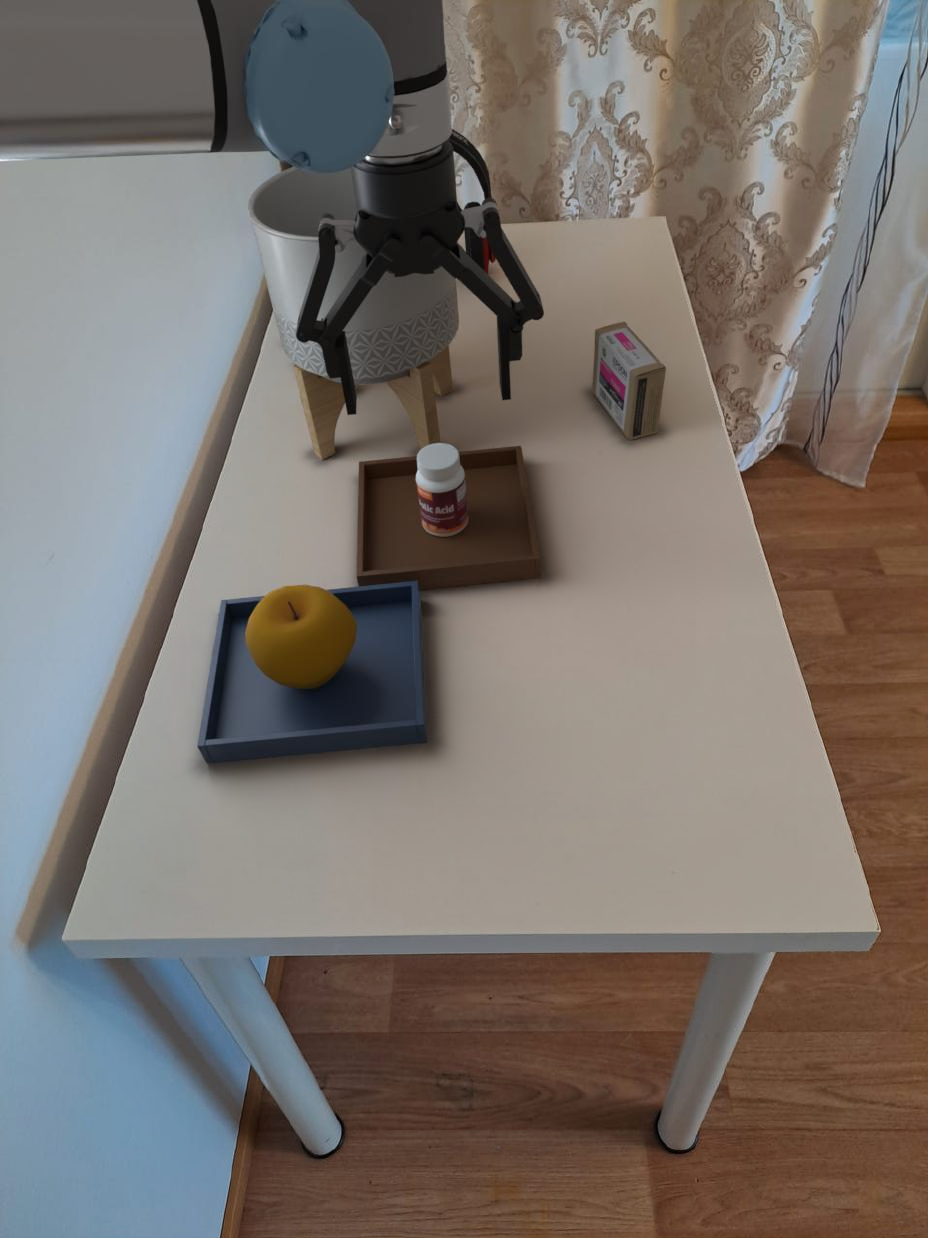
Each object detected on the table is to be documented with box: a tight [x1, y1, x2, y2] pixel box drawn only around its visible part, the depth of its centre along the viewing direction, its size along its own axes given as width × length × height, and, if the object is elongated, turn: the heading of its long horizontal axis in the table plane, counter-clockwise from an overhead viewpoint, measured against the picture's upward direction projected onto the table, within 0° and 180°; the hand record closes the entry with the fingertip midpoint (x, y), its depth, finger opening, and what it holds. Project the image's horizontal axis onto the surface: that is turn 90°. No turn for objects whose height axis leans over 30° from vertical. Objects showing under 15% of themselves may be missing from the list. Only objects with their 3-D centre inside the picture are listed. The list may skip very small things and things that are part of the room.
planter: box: [247, 166, 460, 461], centre depth 95 cm, size 19×19×26 cm
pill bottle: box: [416, 442, 468, 537], centre depth 88 cm, size 5×5×8 cm
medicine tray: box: [355, 445, 542, 591], centre depth 90 cm, size 17×17×3 cm
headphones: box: [448, 128, 497, 275], centre depth 118 cm, size 18×10×20 cm, turn 92°
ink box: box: [591, 321, 667, 441], centre depth 99 cm, size 10×4×8 cm, turn 18°
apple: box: [245, 584, 357, 689], centre depth 76 cm, size 9×9×9 cm
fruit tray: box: [197, 581, 428, 765], centre depth 78 cm, size 18×16×3 cm
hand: (428, 398), depth 80 cm, fingers open, 13 cm apart
